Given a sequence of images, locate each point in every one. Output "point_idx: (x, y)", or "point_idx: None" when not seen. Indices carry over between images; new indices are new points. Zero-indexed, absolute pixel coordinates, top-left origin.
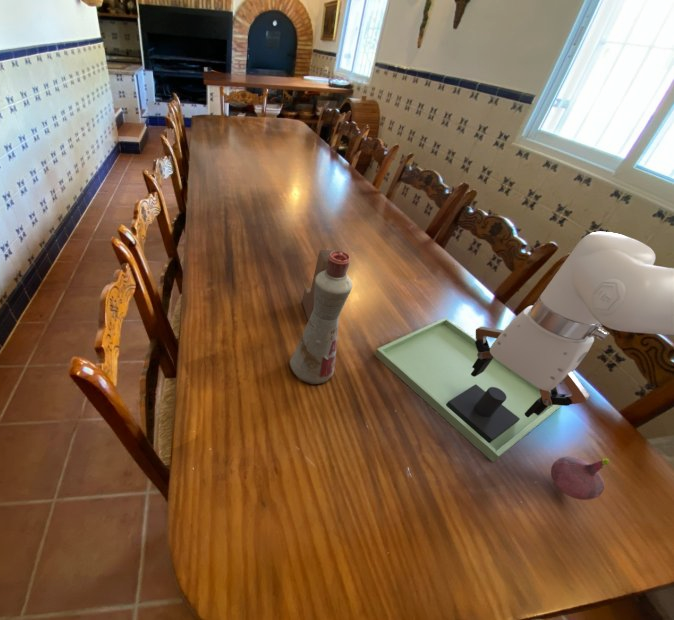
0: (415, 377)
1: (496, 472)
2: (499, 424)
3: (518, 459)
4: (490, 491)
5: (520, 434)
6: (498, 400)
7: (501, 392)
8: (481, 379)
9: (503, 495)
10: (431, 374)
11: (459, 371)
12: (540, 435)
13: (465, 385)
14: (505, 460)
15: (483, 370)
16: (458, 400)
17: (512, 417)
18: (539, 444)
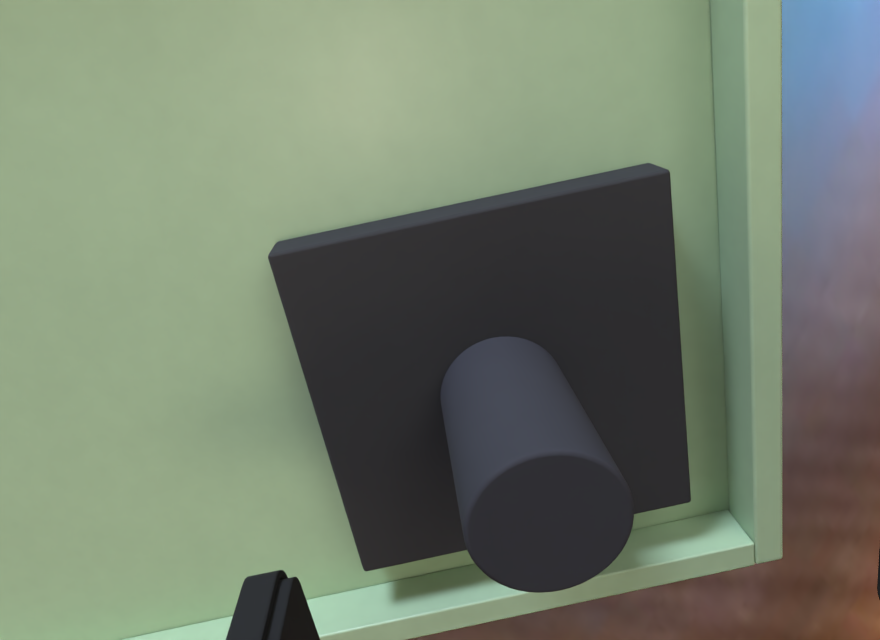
0: (104, 589)
1: (788, 532)
2: (634, 373)
3: (809, 365)
4: (827, 617)
5: (763, 311)
6: (608, 559)
7: (557, 482)
8: (204, 82)
9: (870, 578)
10: (89, 472)
11: (82, 222)
12: (790, 45)
13: (240, 286)
14: None
15: (298, 620)
16: (376, 504)
17: (637, 227)
18: (825, 129)
